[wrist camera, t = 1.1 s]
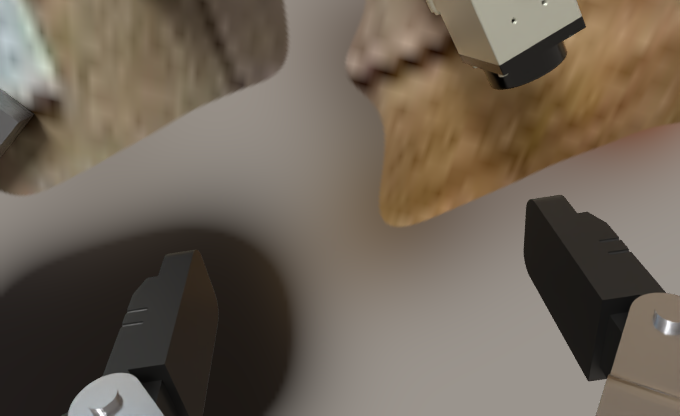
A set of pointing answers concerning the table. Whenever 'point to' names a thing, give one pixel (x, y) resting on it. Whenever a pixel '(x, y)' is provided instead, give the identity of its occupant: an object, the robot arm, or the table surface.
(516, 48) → the pneumatic valve
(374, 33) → the table surface
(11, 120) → the hole rail
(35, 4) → the table surface
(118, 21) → the table surface
